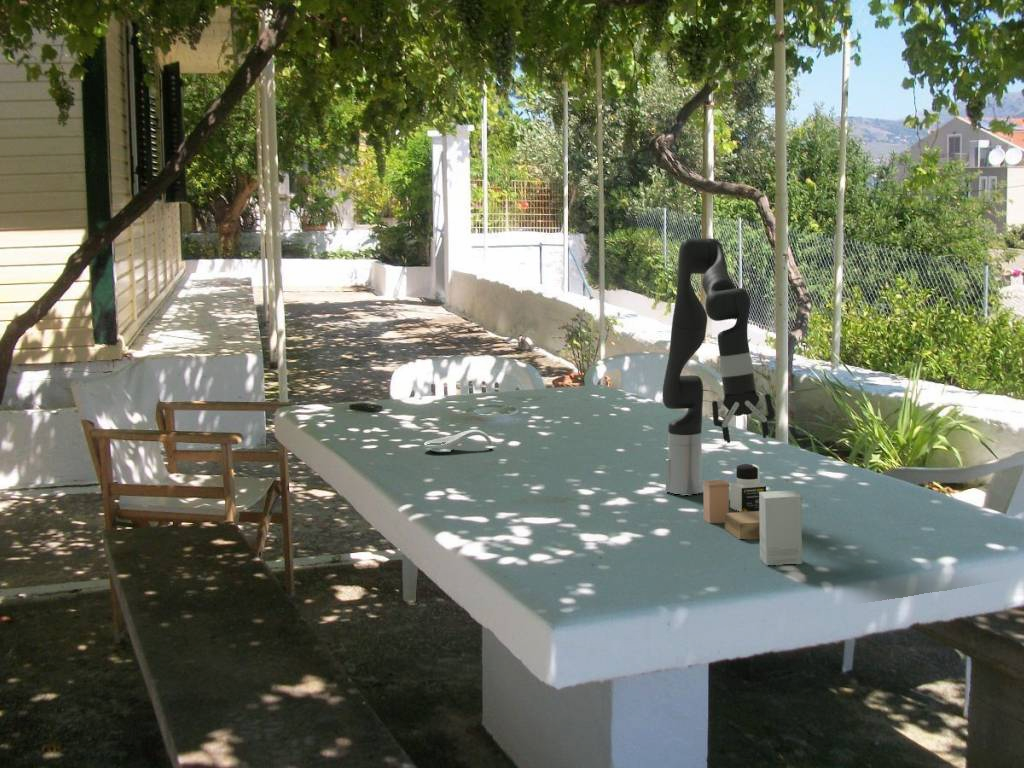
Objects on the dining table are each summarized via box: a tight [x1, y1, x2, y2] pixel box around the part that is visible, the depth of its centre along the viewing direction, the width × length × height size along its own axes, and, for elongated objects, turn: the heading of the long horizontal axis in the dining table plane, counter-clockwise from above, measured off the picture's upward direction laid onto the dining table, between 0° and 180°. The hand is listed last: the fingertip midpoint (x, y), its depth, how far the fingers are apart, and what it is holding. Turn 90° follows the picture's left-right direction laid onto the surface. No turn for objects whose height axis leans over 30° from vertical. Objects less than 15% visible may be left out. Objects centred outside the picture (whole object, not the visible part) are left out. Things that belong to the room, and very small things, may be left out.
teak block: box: [724, 511, 760, 540], centre depth 290 cm, size 11×11×4 cm
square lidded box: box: [702, 478, 730, 524], centre depth 303 cm, size 5×5×10 cm
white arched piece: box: [423, 429, 494, 449], centre depth 410 cm, size 24×12×7 cm, turn 100°
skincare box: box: [759, 489, 803, 567], centre depth 263 cm, size 8×7×16 cm
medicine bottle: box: [729, 463, 767, 512], centre depth 314 cm, size 7×7×12 cm
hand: (746, 440), depth 285 cm, fingers open, 8 cm apart
